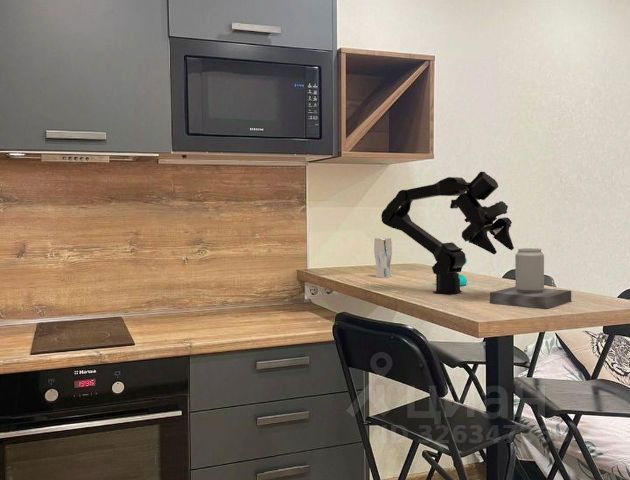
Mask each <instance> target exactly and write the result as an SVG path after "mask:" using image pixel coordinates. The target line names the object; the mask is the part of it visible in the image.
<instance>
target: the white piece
mask: <svg viewBox="0 0 630 480" xmlns="http://www.w3.org/2000/svg"><path fill="white" fill-rule="evenodd" d="M373 252H374V253H373V254H374V259H375V263H376V264H375V265H376V272H375V278H381V279H383V278H384V279H385V278H386V279H387V277H388V278H391V277H392V273H391V272H392V271H391V261H392V257H393V255H392V254H393V244H392V238H391V237H380V238H379V237H378V238H377V237H376V238H374V244H373Z"/></svg>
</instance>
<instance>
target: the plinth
mask: <svg viewBox="0 0 630 480" xmlns="http://www.w3.org/2000/svg"><path fill="white" fill-rule="evenodd" d="M570 302H572V290H570V289H569V290H567V289H558V288H557V289H556V288H545V287H544V289H543V290H542V291H541V292H539V293H524V292H519V291H518V290H517V289H516V285H515V286H511V287H508V288H503V289H498V290H494V291H490V292H489V304H495V305H505V306H513V307H523V308H533V309H541V310H542V309H543V310H548V309H551V308H556V307H559V306H561V305H564V304H568V303H570Z"/></svg>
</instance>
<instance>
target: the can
mask: <svg viewBox="0 0 630 480" xmlns="http://www.w3.org/2000/svg"><path fill="white" fill-rule="evenodd" d="M517 250H518V251H517V252H516V253H515V256H514V257H515V268H514V269H515V271H514V272H515V273H514V274H515V286H516V289H517V290H518V291H519V292H524V293H539V292H541V291H542V290H543V289H544V288H545V254H544V253H543V252H542V248H534V247H532V248H528V247H525V248H523V247H521V248H518V249H517Z"/></svg>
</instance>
